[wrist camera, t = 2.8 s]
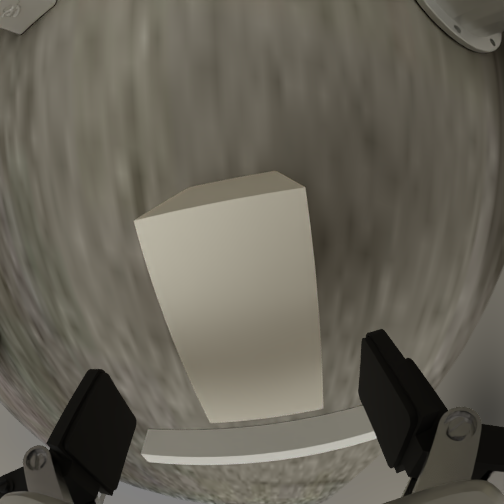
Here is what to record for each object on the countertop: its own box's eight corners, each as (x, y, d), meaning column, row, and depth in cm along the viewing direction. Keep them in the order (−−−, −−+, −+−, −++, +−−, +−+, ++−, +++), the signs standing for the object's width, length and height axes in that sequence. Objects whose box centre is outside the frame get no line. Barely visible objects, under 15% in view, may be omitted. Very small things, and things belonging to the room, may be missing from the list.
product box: (275, 170, 19) (305, 187, 9) (296, 312, 22) (323, 408, 13) (185, 188, 19) (127, 222, 9) (219, 324, 22) (205, 423, 13)
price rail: (398, 394, 26) (411, 418, 23) (395, 406, 27) (406, 429, 23) (148, 429, 28) (140, 453, 24) (155, 439, 28) (149, 463, 25)
